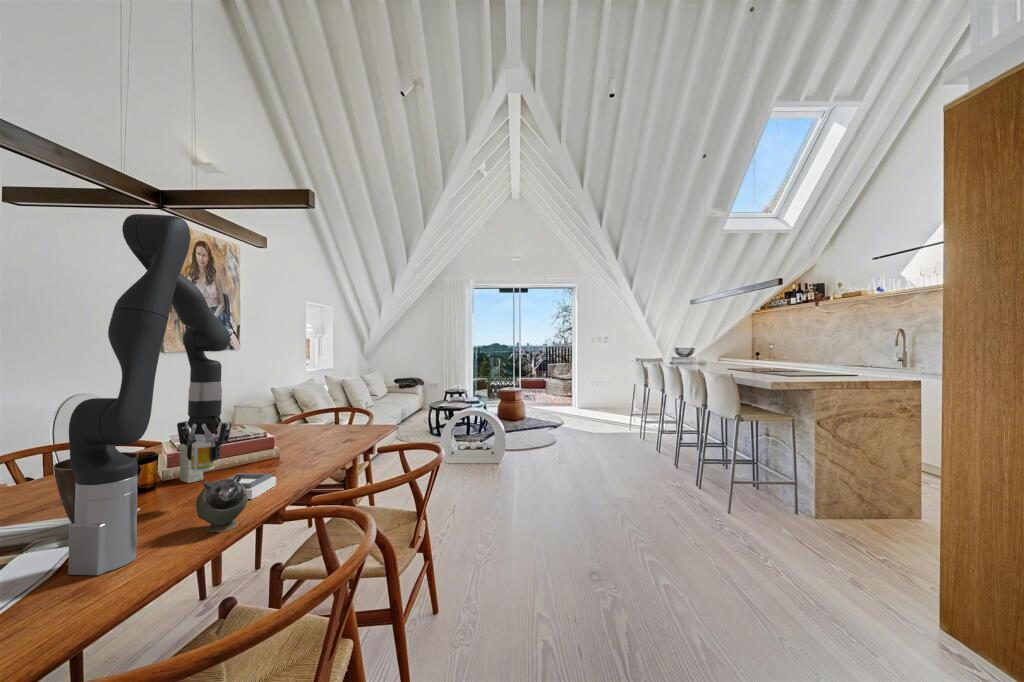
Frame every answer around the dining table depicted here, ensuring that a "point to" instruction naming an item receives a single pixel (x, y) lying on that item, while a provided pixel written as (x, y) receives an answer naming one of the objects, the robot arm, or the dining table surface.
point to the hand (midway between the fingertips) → (203, 459)
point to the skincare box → (187, 467)
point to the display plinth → (256, 483)
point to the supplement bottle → (201, 454)
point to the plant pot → (71, 484)
